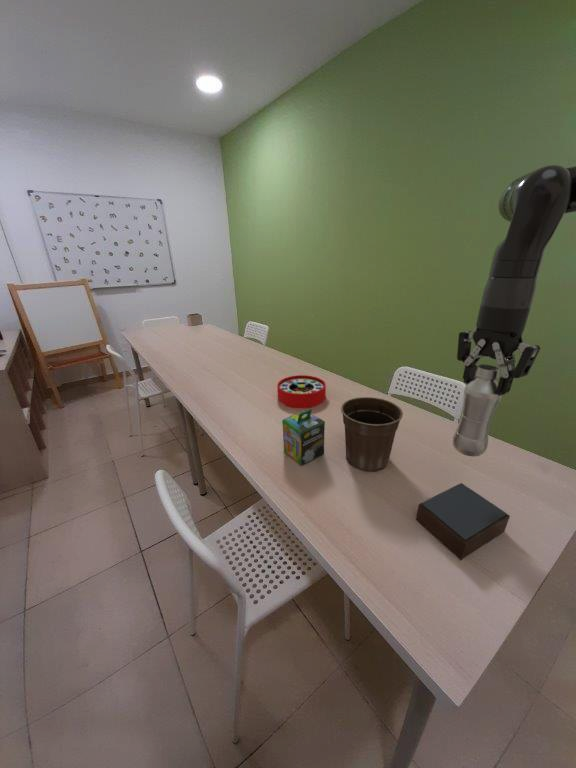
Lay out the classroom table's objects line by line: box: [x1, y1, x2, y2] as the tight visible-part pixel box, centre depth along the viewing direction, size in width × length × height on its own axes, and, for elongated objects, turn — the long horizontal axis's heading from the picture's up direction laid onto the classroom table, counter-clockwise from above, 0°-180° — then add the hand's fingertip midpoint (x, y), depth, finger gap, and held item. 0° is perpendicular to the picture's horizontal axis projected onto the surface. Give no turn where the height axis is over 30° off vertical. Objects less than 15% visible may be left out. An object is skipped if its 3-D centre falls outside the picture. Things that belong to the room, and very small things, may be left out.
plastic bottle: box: [452, 363, 503, 458], centre depth 63 cm, size 6×7×20 cm
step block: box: [415, 482, 511, 561], centre depth 64 cm, size 14×11×5 cm
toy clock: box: [277, 374, 327, 409], centre depth 125 cm, size 20×6×20 cm
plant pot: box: [340, 396, 404, 472], centre depth 85 cm, size 16×16×16 cm
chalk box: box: [281, 408, 326, 466], centre depth 88 cm, size 9×9×15 cm
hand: (483, 387), depth 60 cm, fingers closed on plastic bottle, 6 cm apart
